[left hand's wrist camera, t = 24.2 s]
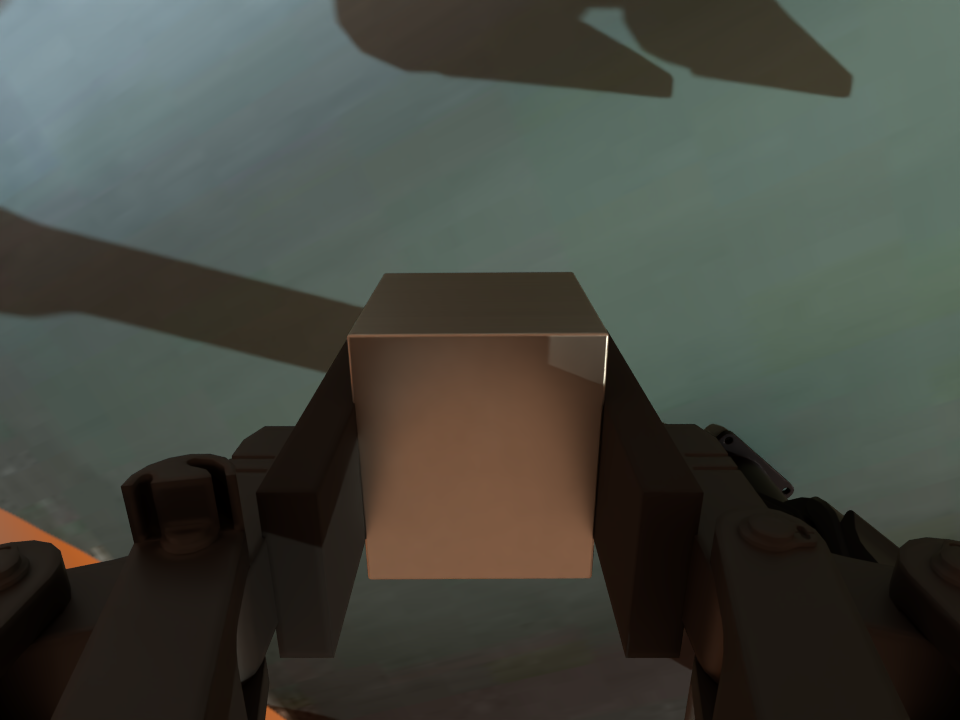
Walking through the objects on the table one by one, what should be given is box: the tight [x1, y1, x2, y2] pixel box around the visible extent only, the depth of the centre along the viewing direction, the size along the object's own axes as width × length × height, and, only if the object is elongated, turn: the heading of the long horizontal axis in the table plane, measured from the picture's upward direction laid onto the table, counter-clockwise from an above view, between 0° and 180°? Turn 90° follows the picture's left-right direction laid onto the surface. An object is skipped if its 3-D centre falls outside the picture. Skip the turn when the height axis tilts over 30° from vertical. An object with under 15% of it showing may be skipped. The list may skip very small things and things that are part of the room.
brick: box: [347, 272, 609, 579], centre depth 13 cm, size 5×4×4 cm
